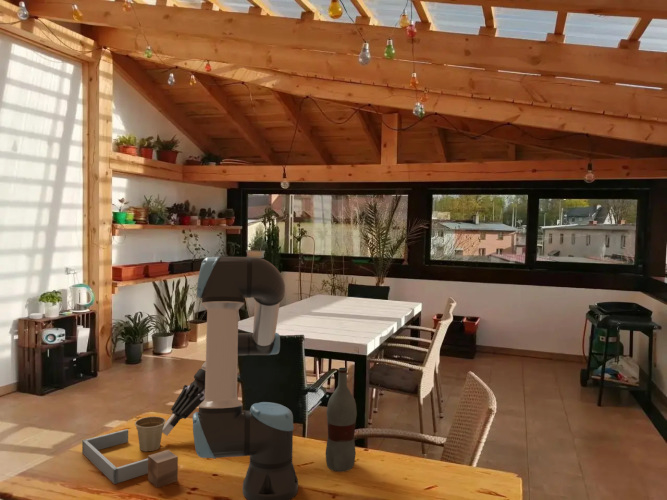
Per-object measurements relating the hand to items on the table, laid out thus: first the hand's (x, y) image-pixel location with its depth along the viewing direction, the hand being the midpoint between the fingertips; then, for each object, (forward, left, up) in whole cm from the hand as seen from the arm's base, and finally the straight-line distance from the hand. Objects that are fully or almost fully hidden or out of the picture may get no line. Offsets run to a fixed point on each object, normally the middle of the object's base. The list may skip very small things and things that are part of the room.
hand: (163, 433), depth 170 cm
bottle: (-50, -33, -4) cm, 60 cm away
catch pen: (-4, +15, -3) cm, 16 cm away
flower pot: (-1, +5, -4) cm, 6 cm away
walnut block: (-23, +11, -3) cm, 26 cm away
